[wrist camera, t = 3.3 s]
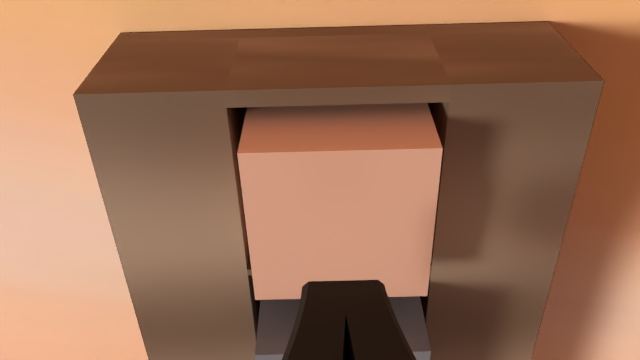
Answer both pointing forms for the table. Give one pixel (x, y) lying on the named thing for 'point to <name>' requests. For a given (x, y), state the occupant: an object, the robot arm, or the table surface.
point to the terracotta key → (340, 195)
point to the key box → (339, 89)
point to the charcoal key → (283, 312)
